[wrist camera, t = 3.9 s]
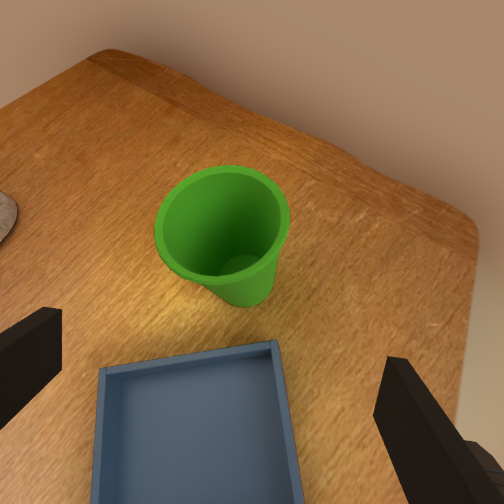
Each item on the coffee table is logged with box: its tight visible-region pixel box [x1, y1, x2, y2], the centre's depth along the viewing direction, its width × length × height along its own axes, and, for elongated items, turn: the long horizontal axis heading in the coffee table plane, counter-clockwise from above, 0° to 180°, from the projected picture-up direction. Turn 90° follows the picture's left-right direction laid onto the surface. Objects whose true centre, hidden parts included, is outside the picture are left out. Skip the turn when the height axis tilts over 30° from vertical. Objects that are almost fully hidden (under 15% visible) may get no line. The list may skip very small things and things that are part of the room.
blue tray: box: [90, 340, 305, 504], centre depth 26 cm, size 14×13×3 cm
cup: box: [154, 165, 290, 307], centre depth 28 cm, size 9×9×11 cm
